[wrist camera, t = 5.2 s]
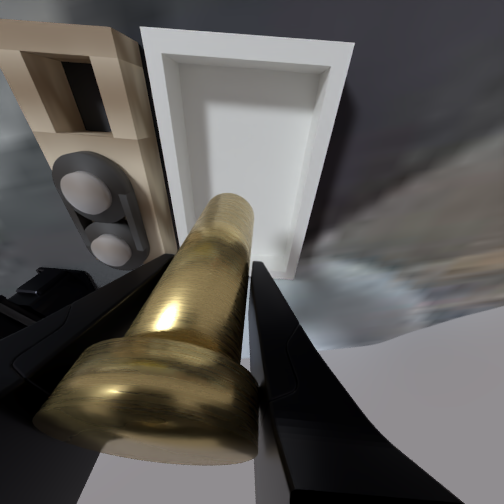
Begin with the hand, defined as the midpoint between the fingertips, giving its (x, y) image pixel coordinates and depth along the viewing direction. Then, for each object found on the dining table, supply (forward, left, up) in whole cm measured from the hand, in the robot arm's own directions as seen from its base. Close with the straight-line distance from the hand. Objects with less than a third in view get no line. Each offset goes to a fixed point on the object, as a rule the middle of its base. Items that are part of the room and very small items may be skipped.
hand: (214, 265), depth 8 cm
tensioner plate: (0, +12, -13) cm, 18 cm away
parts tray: (0, 0, -13) cm, 13 cm away
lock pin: (0, 0, -4) cm, 5 cm away
